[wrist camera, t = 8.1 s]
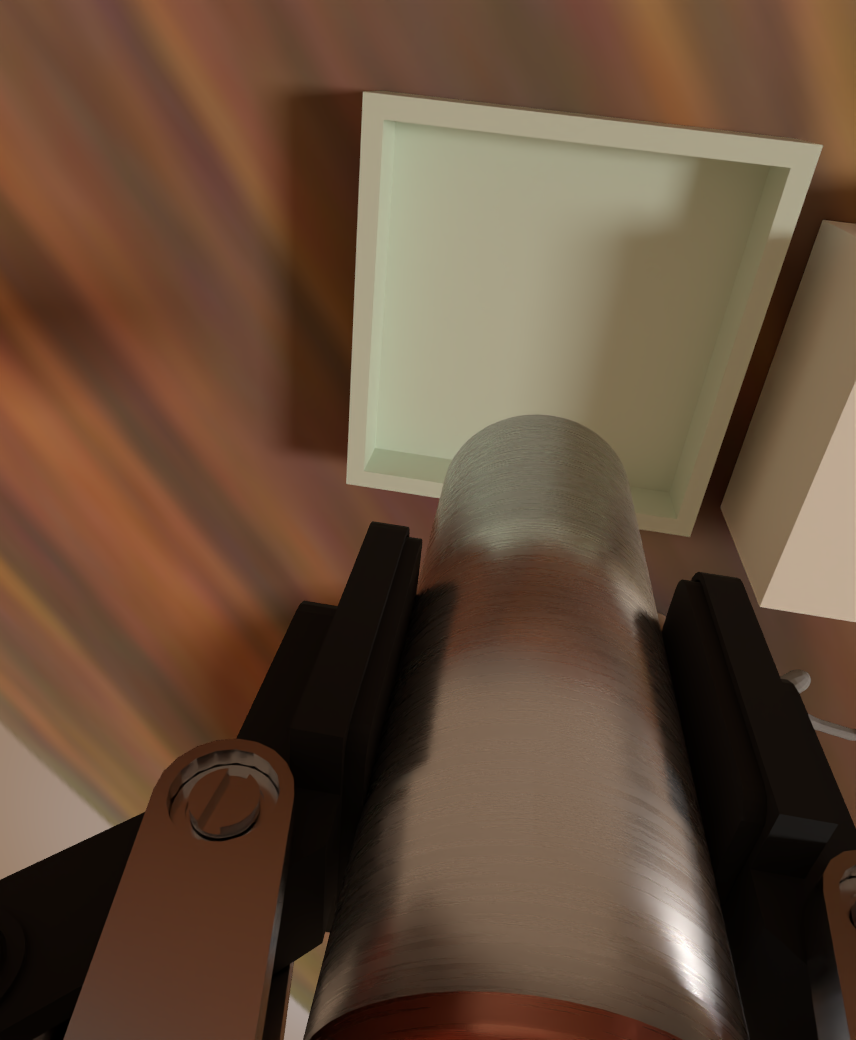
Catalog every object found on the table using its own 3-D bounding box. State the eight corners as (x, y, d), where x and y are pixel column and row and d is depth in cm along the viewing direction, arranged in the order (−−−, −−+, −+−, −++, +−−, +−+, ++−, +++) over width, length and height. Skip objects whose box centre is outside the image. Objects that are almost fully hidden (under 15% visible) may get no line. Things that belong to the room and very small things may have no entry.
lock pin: (453, 401, 13) (244, 1130, 4) (651, 430, 13) (917, 1273, 4) (433, 562, 15) (259, 1316, 6) (606, 589, 15) (712, 1421, 6)
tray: (381, 90, 22) (362, 91, 20) (795, 138, 21) (823, 145, 19) (361, 452, 28) (346, 483, 26) (679, 501, 27) (690, 536, 25)
